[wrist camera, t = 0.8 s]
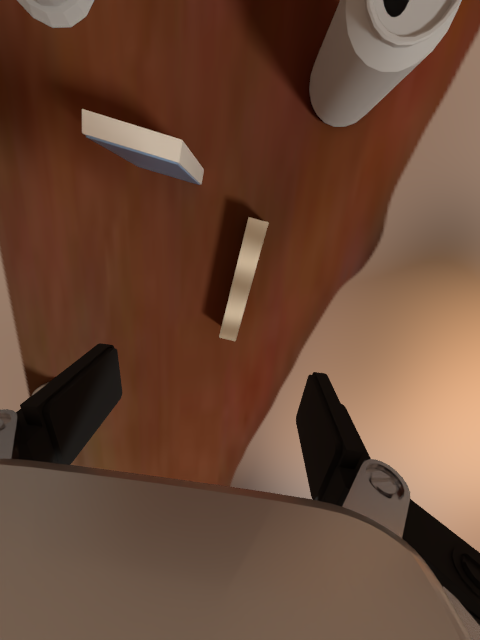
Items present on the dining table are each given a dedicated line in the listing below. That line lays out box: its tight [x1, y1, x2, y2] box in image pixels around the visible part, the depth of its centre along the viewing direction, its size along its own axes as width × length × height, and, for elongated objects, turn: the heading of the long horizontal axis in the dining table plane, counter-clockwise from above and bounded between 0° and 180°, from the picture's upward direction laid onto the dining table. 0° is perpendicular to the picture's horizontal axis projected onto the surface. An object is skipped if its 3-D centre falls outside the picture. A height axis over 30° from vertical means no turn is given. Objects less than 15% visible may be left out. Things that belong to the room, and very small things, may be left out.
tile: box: [82, 109, 204, 185], centre depth 23 cm, size 2×8×10 cm, turn 75°
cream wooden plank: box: [219, 217, 268, 341], centre depth 31 cm, size 16×2×4 cm, turn 166°
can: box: [309, 0, 462, 127], centre depth 19 cm, size 8×8×12 cm
